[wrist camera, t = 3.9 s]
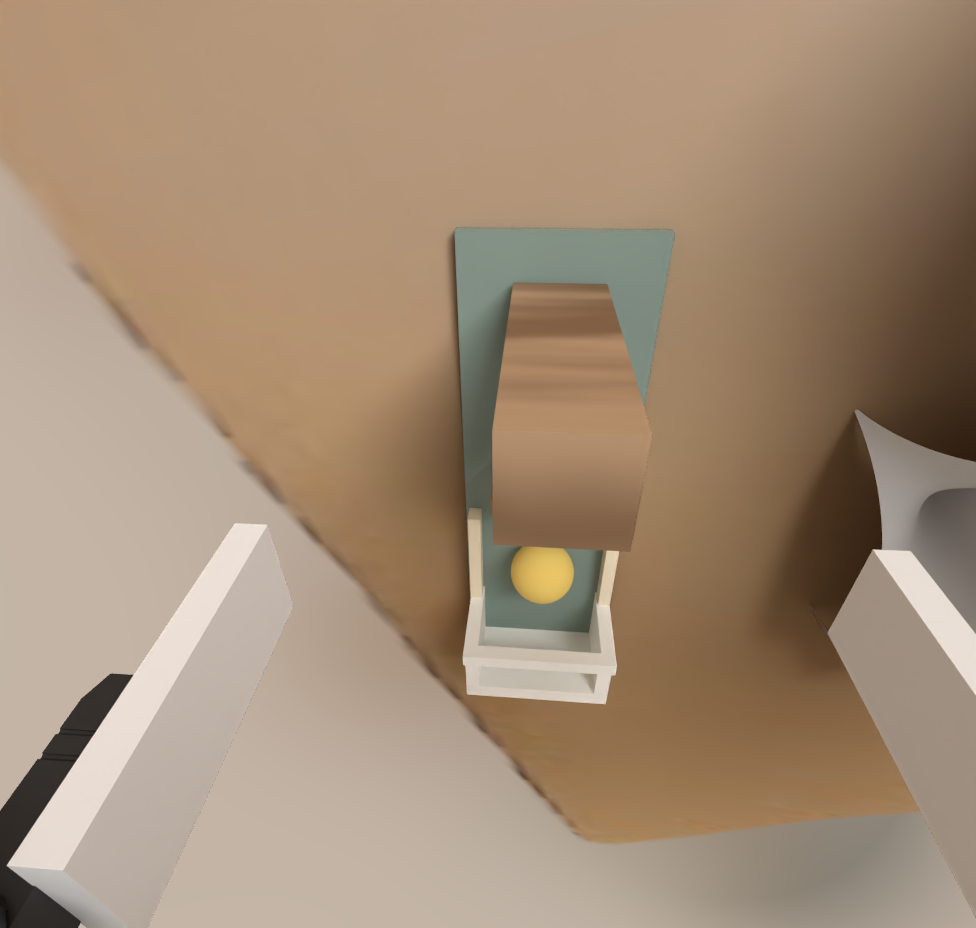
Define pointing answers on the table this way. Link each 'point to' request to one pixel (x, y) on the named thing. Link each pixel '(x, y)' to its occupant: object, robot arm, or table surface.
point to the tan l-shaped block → (567, 423)
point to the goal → (539, 659)
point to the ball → (542, 573)
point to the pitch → (482, 330)
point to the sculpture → (927, 511)
